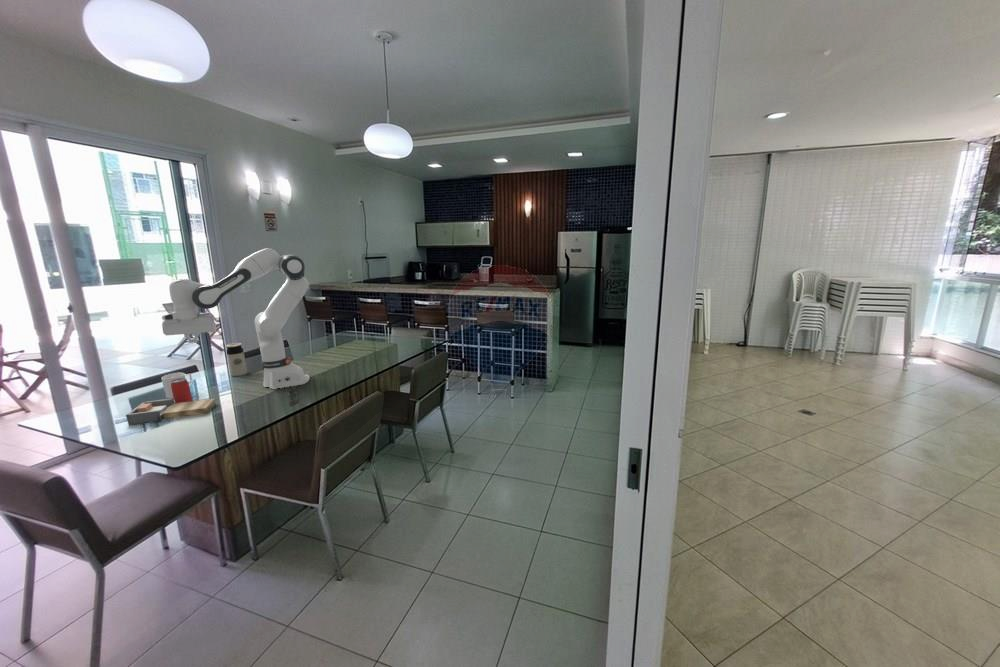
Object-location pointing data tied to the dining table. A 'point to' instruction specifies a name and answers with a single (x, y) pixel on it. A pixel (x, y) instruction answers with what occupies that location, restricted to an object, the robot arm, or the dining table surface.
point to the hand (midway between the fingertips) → (193, 342)
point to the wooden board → (189, 409)
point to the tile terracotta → (145, 407)
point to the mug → (169, 378)
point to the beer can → (181, 390)
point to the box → (148, 413)
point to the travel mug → (236, 359)
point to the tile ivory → (158, 408)
